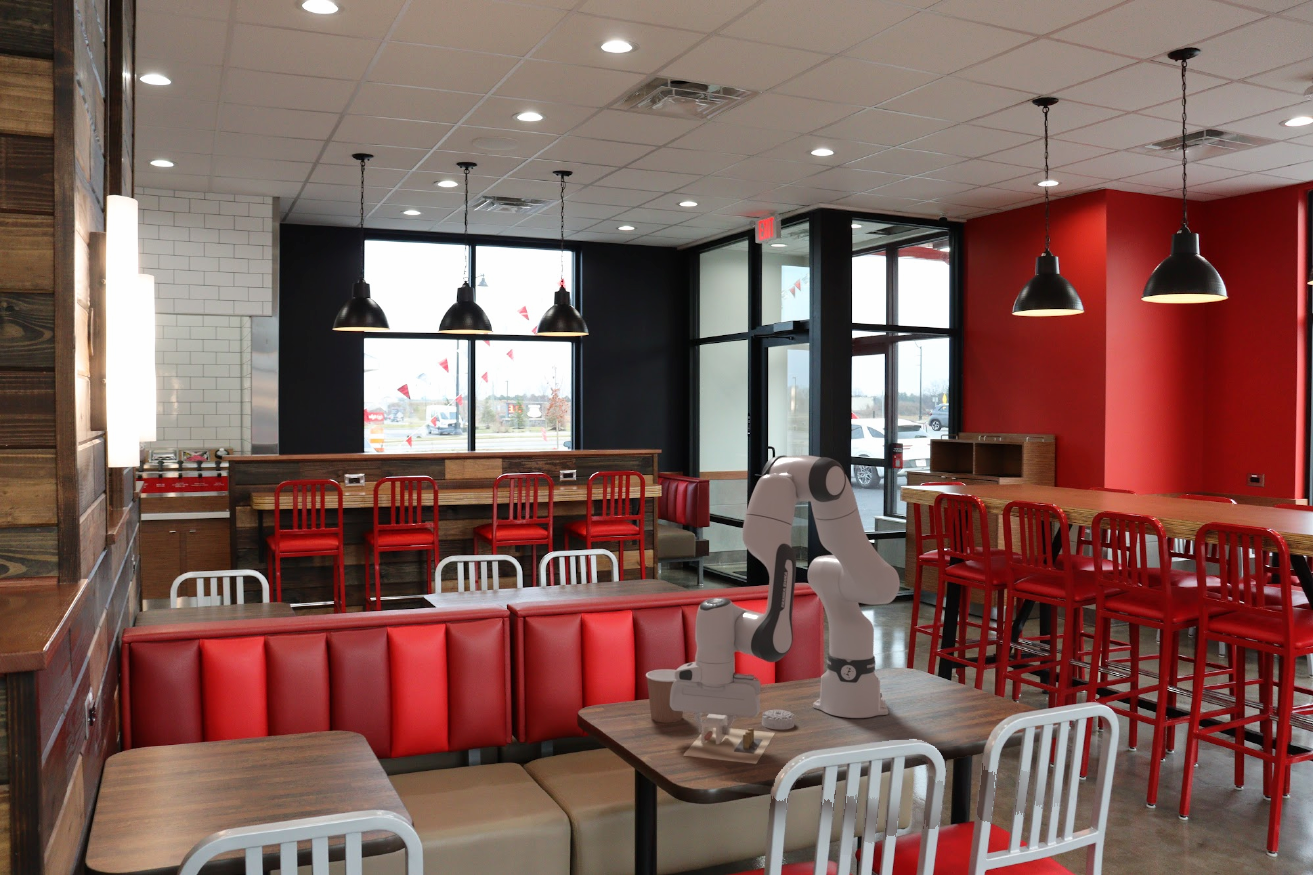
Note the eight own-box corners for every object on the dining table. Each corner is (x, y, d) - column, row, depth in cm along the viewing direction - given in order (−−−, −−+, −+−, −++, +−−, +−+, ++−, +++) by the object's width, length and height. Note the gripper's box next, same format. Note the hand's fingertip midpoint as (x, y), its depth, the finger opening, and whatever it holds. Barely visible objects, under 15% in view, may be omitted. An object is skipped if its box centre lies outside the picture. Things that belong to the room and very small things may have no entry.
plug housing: (710, 731, 234) (710, 712, 234) (727, 733, 233) (727, 714, 232) (697, 746, 223) (698, 726, 223) (715, 748, 222) (715, 728, 222)
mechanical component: (754, 736, 239) (797, 739, 237) (754, 717, 239) (797, 720, 237) (759, 723, 249) (800, 727, 247) (759, 705, 249) (800, 708, 247)
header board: (707, 732, 241) (708, 713, 241) (775, 739, 236) (775, 719, 236) (682, 762, 220) (683, 741, 220) (756, 770, 215) (756, 749, 215)
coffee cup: (696, 725, 246) (697, 675, 246) (662, 733, 240) (663, 682, 239) (670, 715, 254) (670, 667, 254) (636, 722, 248) (637, 673, 248)
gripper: (763, 671, 229) (762, 733, 229) (675, 664, 235) (675, 724, 235) (757, 679, 223) (757, 741, 223) (667, 671, 229) (667, 732, 229)
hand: (714, 732), depth 229 cm, fingers closed on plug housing, 4 cm apart
